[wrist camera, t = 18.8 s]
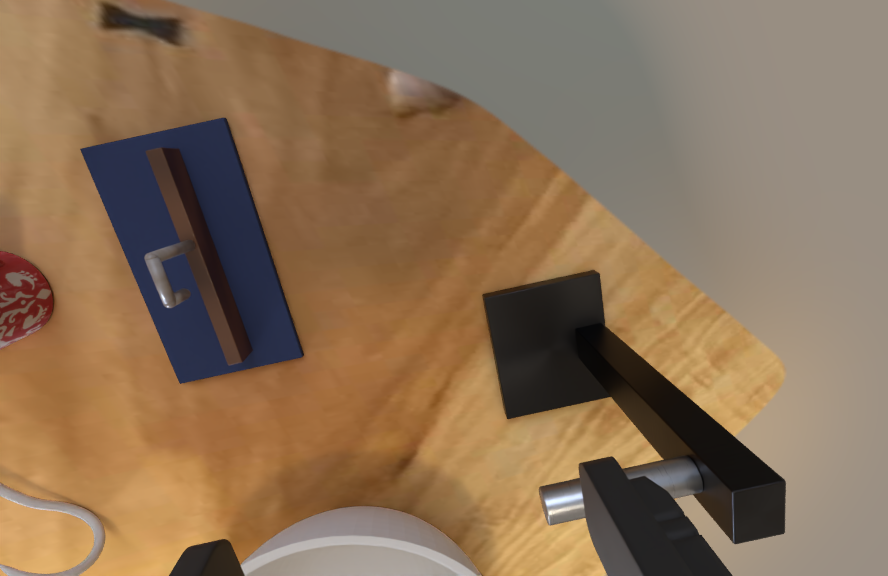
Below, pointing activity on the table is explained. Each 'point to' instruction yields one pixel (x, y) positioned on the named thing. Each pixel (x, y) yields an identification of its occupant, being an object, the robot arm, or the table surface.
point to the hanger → (194, 255)
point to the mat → (151, 228)
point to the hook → (69, 508)
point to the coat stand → (623, 405)
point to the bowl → (360, 547)
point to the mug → (21, 299)
